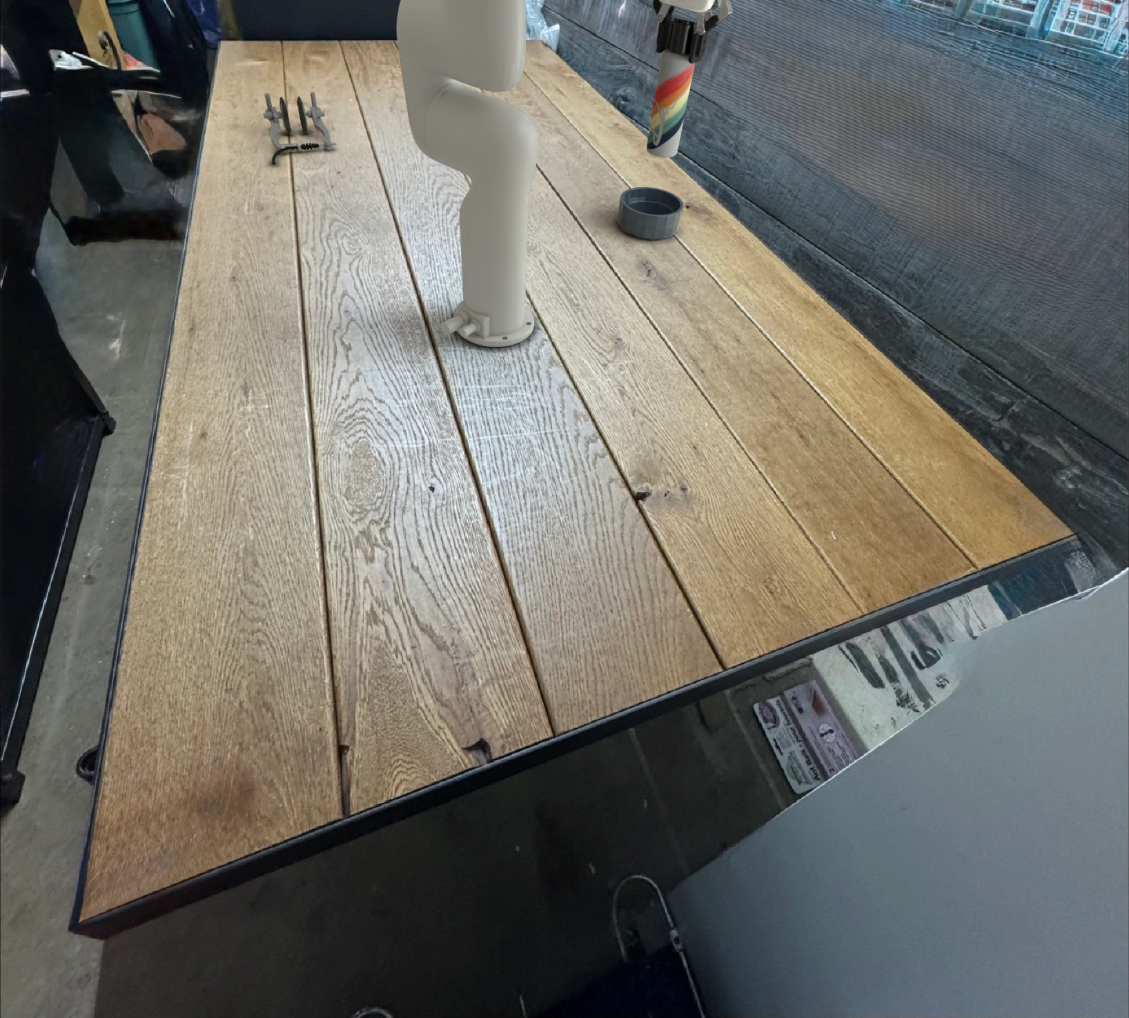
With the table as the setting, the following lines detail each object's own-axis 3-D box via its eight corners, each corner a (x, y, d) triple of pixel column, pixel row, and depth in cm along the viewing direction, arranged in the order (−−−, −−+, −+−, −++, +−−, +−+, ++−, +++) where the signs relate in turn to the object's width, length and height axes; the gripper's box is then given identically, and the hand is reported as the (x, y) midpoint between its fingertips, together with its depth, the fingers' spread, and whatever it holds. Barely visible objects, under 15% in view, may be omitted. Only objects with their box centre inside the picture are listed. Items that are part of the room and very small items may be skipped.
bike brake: (261, 121, 144) (274, 174, 135) (254, 88, 138) (267, 141, 129) (325, 119, 148) (342, 170, 139) (321, 87, 142) (338, 138, 133)
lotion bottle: (640, 152, 117) (662, 17, 102) (653, 142, 121) (675, 10, 105) (670, 160, 116) (696, 24, 101) (681, 150, 119) (708, 17, 104)
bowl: (655, 248, 123) (660, 222, 120) (604, 225, 128) (607, 199, 124) (689, 227, 130) (695, 202, 126) (639, 206, 134) (644, 181, 131)
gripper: (641, -102, 94) (623, 46, 108) (744, -78, 88) (711, 75, 102) (669, -104, 98) (648, 39, 112) (770, -82, 92) (734, 66, 106)
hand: (678, 55), depth 107 cm, fingers closed on lotion bottle, 5 cm apart
